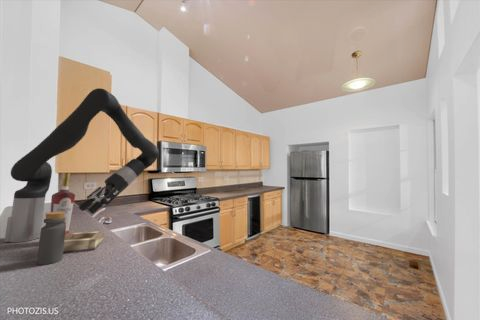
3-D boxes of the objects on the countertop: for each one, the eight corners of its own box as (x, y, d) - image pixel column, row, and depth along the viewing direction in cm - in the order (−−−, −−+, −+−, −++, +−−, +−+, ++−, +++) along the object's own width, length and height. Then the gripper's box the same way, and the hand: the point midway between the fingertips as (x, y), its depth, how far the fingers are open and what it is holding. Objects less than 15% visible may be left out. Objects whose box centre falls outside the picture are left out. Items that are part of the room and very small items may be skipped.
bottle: (66, 259, 63) (71, 212, 65) (43, 266, 58) (50, 215, 59) (55, 256, 65) (60, 210, 67) (32, 263, 60) (38, 213, 61)
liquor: (48, 246, 74) (57, 172, 77) (43, 242, 78) (52, 172, 81) (72, 241, 80) (80, 173, 83) (66, 238, 84) (74, 173, 87)
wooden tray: (52, 253, 67) (54, 242, 67) (67, 243, 78) (68, 233, 78) (94, 249, 72) (95, 239, 72) (102, 240, 83) (103, 231, 83)
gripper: (107, 172, 82) (69, 202, 71) (124, 172, 74) (85, 205, 64) (119, 185, 86) (85, 214, 75) (136, 186, 78) (101, 219, 68)
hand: (85, 210), depth 70 cm, fingers open, 8 cm apart
